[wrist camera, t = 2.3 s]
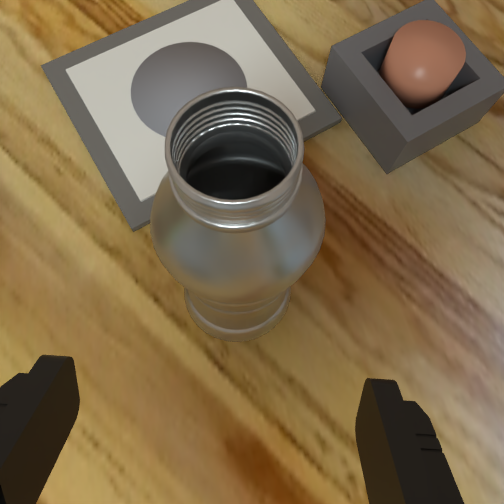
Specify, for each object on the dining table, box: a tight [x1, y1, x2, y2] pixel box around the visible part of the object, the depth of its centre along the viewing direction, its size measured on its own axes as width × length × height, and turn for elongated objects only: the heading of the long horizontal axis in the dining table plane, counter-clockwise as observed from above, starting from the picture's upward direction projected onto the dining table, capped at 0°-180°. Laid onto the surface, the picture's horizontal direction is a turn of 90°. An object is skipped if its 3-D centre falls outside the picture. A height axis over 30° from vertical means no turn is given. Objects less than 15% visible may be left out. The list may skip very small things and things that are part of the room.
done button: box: [379, 20, 466, 109], centre depth 32 cm, size 5×5×3 cm
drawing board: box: [41, 0, 342, 232], centre depth 35 cm, size 18×16×1 cm
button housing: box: [321, 0, 504, 174], centre depth 34 cm, size 9×9×4 cm
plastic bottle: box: [150, 87, 326, 342], centre depth 21 cm, size 6×7×20 cm
